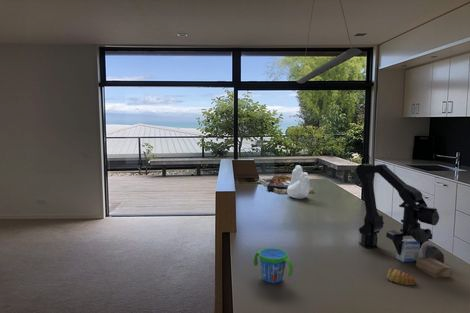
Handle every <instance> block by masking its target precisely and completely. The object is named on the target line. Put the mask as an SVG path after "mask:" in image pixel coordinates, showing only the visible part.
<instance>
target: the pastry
mask: <svg viewBox="0 0 470 313" xmlns="http://www.w3.org/2000/svg"><path fill="white" fill-rule="evenodd" d="M386 279H387V280H389V281H390V282H392V283H393V282H394V283H396V284H400V285H404V286H413V285H416V279H415V278H414V277H413V276H411V275H410V274H408V273H407V272H404V271H403V270H399V269H397V268H396V269H395V268H394V269H393V268H389V270H388V272H387V276H386Z"/></svg>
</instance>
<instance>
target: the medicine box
mask: <svg viewBox="0 0 470 313" xmlns="http://www.w3.org/2000/svg"><path fill="white" fill-rule="evenodd" d="M402 241H404V243H403V244H402V249H401V255H398V253H397V252H396V259H397V260H399V261H400V262H402V263H411V262H412V263H413V262H417V258H420V250H419V248H420V242H417V241H415V239H414V238H406V239H404V238H403V240H402ZM420 249H421V248H420Z"/></svg>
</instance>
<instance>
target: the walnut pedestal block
mask: <svg viewBox="0 0 470 313" xmlns="http://www.w3.org/2000/svg"><path fill="white" fill-rule="evenodd" d="M415 262H416V264H415V267H416V268H417V269H419V270H421V271H422V272H424V273H425V274H427V275H429V276H430V277H432V278H434V279H435V278H436V279H439V278H449V277H451V270H452V269H451V268H452V267H451V266H448V265H446V264H445V263H441V262H439V261H437V260H435V259H434V258H432V257H431V258H425V257H419V258H417V261H415Z"/></svg>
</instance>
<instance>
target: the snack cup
mask: <svg viewBox="0 0 470 313" xmlns="http://www.w3.org/2000/svg"><path fill="white" fill-rule="evenodd" d="M258 258H259V260H258ZM291 260H292V259H290V258H289V256H288V253H287V252H286V251H285V250H283V249H280V248H274V247H273V248H271V247H269V248H263V249H261V250H259V251H258V252H257V253H255V255H254V258H253V266H254V267H257V266H258V265H259V262H260V269H261V270H260V271H261V277H262V280H263V281H264V282H266V283H269V284H278V283H281V282H282V281H283V279H284V273H285V269H286V263H287V264H288V268H289V269H288V270H289V271H288V277H289V278H290V277H291V276H292V275H293V272H294V268H293V267H294V266H293V263H292V261H291Z"/></svg>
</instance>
